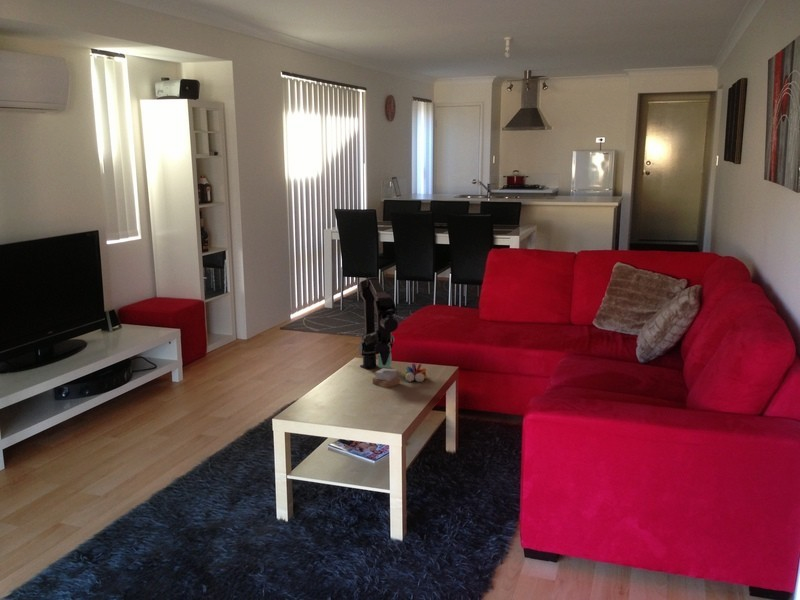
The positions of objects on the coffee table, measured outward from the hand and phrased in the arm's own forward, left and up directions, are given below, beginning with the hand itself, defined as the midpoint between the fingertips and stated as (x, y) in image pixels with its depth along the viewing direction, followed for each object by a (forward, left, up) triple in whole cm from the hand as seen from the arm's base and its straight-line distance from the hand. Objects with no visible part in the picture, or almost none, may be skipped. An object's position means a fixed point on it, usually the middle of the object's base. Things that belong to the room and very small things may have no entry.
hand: (384, 363), depth 293 cm
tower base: (0, 0, -9) cm, 9 cm away
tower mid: (0, 0, -6) cm, 6 cm away
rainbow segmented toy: (+3, +13, -9) cm, 17 cm away
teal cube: (0, 0, -1) cm, 1 cm away
